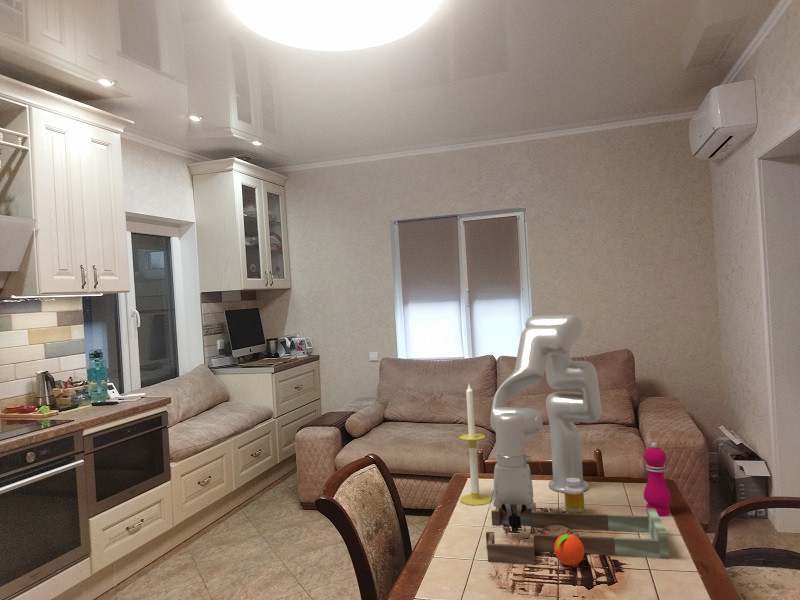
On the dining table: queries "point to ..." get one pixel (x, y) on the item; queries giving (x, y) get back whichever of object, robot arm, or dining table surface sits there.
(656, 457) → the pepper mill
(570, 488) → the supplement bottle
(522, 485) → the robot arm
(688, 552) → the dining table surface
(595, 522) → the channel
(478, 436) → the candle
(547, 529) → the cookie
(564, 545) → the clementine
